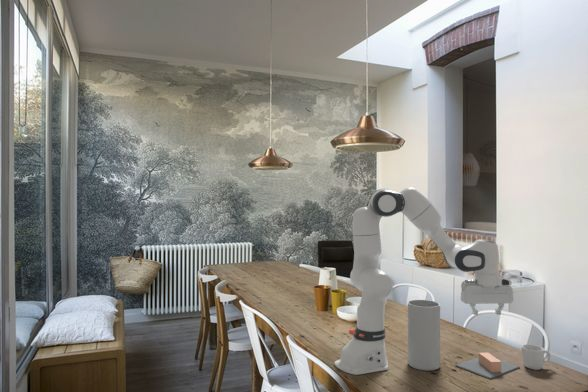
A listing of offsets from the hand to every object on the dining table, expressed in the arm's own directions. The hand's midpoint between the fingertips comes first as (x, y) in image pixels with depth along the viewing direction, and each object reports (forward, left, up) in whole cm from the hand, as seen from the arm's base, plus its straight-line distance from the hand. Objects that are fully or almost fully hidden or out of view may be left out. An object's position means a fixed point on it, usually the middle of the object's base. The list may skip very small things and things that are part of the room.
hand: (486, 314), depth 171 cm
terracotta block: (+2, +3, -18) cm, 19 cm away
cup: (+16, -11, -21) cm, 29 cm away
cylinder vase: (-20, +15, -21) cm, 33 cm away
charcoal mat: (0, 0, -21) cm, 21 cm away
